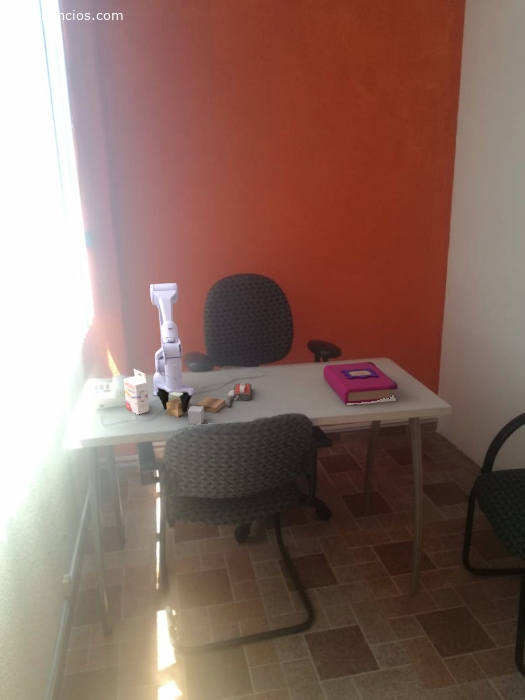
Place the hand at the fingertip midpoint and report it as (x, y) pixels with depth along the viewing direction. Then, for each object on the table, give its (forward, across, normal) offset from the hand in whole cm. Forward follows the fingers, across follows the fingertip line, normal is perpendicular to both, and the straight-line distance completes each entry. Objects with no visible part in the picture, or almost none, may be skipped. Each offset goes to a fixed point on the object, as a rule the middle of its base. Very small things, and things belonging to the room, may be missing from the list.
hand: (175, 410), depth 199 cm
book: (+2, +56, +46) cm, 73 cm away
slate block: (+2, +10, -3) cm, 11 cm away
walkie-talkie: (+2, +15, +22) cm, 27 cm away
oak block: (+2, 0, 0) cm, 2 cm away
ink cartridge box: (+2, -15, -2) cm, 15 cm away
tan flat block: (+2, +9, +10) cm, 14 cm away
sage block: (+2, -3, +7) cm, 8 cm away
